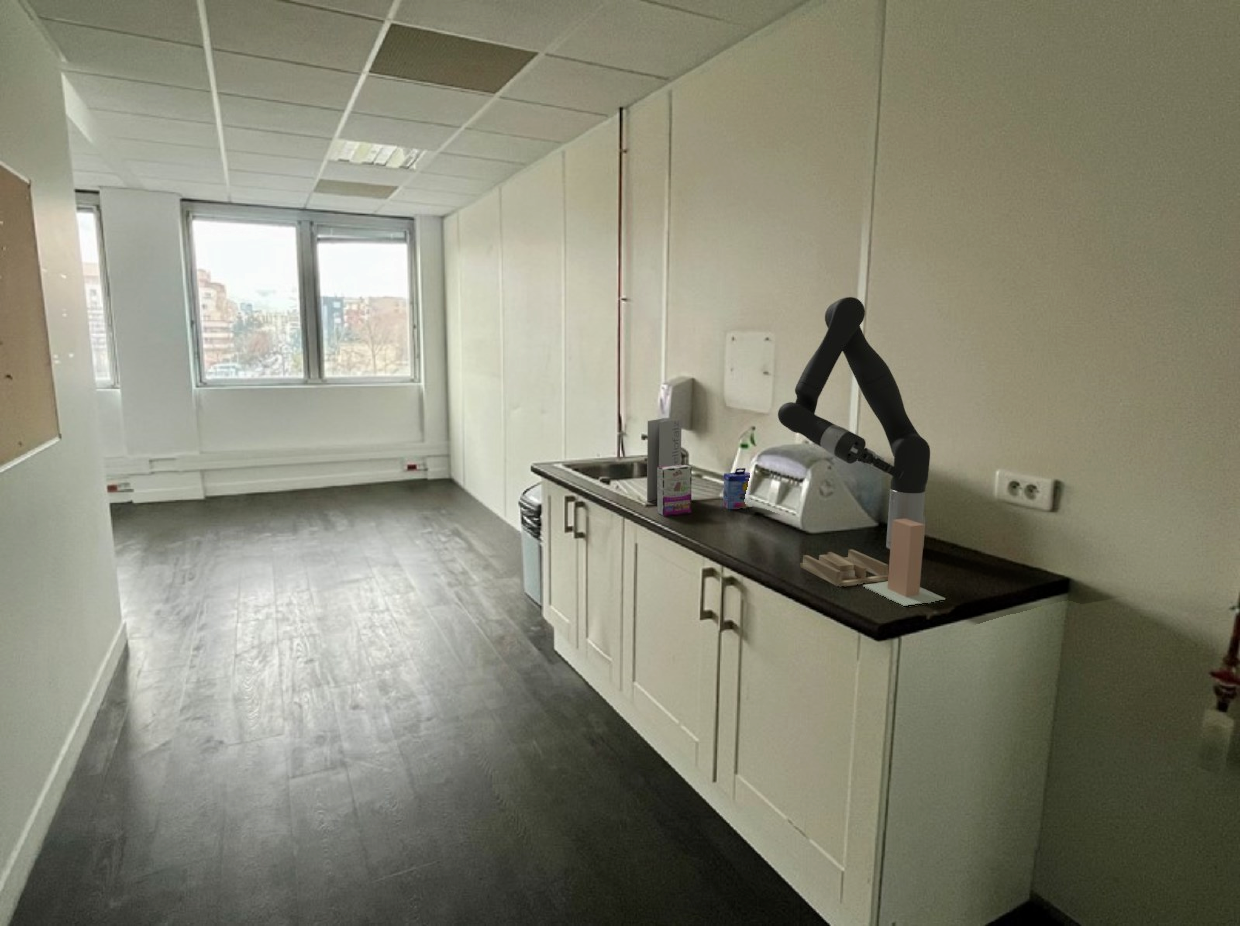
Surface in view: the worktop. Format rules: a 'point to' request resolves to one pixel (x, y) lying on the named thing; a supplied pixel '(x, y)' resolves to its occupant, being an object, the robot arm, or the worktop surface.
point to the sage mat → (923, 596)
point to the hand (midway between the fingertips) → (895, 472)
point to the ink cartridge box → (735, 489)
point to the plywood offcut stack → (839, 566)
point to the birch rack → (860, 568)
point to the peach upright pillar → (905, 557)
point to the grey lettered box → (662, 450)
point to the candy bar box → (674, 490)
